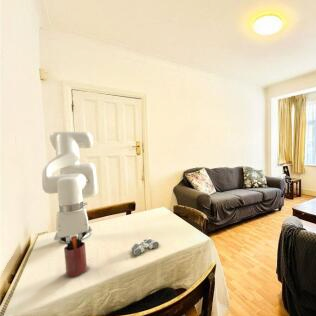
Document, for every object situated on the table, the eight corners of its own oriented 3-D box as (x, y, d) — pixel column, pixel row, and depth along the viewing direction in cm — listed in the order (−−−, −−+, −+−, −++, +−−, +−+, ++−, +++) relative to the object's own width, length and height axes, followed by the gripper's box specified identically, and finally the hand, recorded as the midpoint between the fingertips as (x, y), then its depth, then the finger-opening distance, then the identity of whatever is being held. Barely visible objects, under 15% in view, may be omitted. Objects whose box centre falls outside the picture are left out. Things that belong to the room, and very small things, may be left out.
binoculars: (135, 256, 96) (134, 249, 96) (128, 250, 101) (128, 243, 101) (159, 246, 105) (158, 240, 105) (151, 241, 110) (151, 235, 110)
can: (66, 271, 85) (63, 245, 84) (85, 264, 90) (83, 240, 89) (66, 279, 80) (64, 252, 79) (87, 272, 85) (85, 246, 84)
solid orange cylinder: (73, 264, 85) (71, 236, 84) (78, 262, 86) (76, 235, 85) (73, 266, 84) (71, 238, 82) (79, 264, 85) (76, 237, 84)
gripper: (93, 200, 90) (96, 240, 92) (45, 209, 80) (49, 253, 82) (96, 204, 85) (99, 246, 87) (44, 214, 74) (49, 261, 76)
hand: (75, 249), depth 84 cm, fingers closed on solid orange cylinder, 2 cm apart
